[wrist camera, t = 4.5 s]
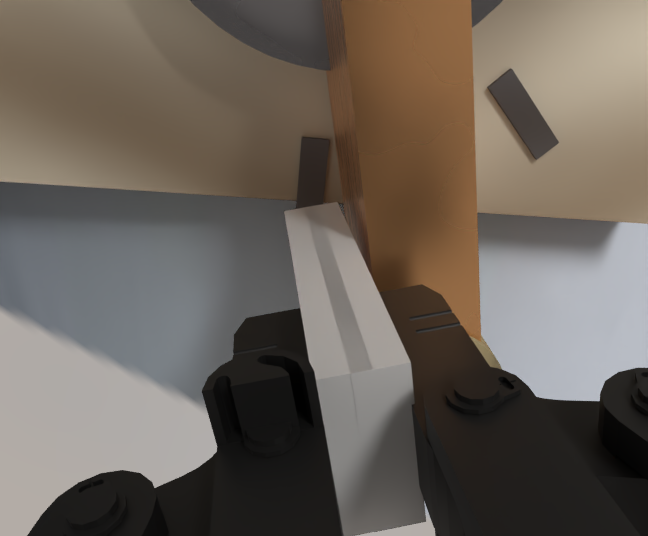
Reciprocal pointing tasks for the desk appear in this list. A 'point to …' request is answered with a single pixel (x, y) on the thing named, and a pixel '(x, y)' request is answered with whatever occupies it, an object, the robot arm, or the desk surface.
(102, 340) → the desk surface
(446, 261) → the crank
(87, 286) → the desk surface
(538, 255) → the desk surface
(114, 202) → the desk surface
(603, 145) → the panel
